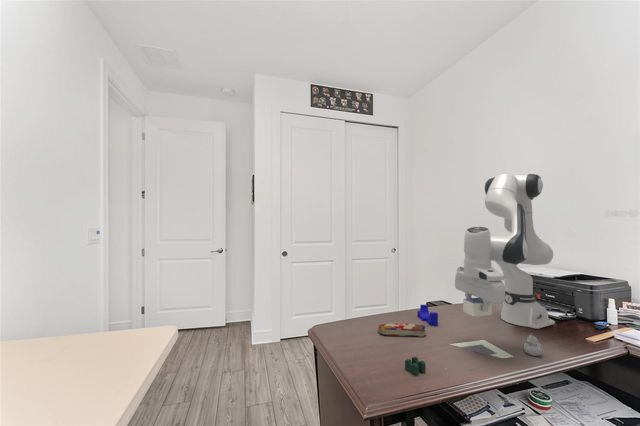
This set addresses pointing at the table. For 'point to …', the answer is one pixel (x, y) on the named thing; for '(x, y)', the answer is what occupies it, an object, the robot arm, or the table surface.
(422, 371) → the mount
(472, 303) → the card deck
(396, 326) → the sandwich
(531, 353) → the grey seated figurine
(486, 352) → the mat
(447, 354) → the table surface
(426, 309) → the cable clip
